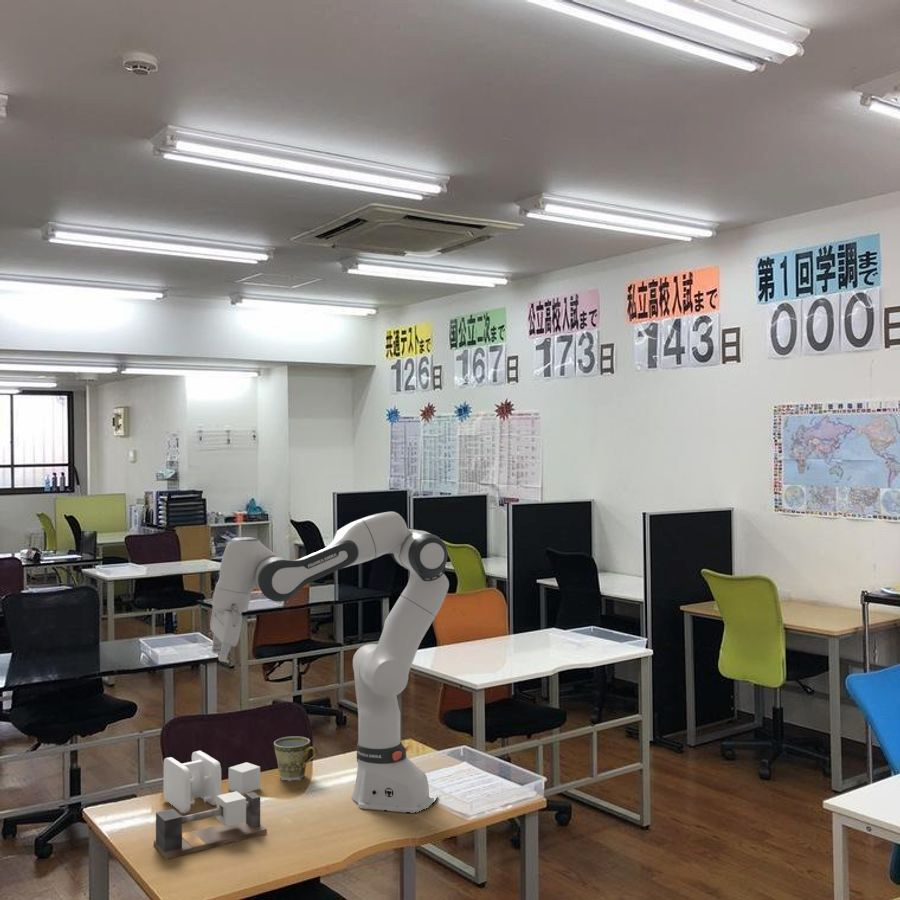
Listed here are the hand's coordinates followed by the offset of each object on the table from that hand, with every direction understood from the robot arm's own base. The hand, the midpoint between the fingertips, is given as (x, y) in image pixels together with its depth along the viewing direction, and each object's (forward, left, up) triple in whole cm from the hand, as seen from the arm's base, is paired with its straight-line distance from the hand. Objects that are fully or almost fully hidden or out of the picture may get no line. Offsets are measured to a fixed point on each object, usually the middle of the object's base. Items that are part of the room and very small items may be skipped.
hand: (218, 656), depth 226 cm
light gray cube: (+8, -21, -41) cm, 47 cm away
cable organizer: (+14, -7, -41) cm, 44 cm away
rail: (-5, +9, -41) cm, 42 cm away
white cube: (-7, +4, -37) cm, 38 cm away
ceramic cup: (0, -34, -41) cm, 53 cm away
